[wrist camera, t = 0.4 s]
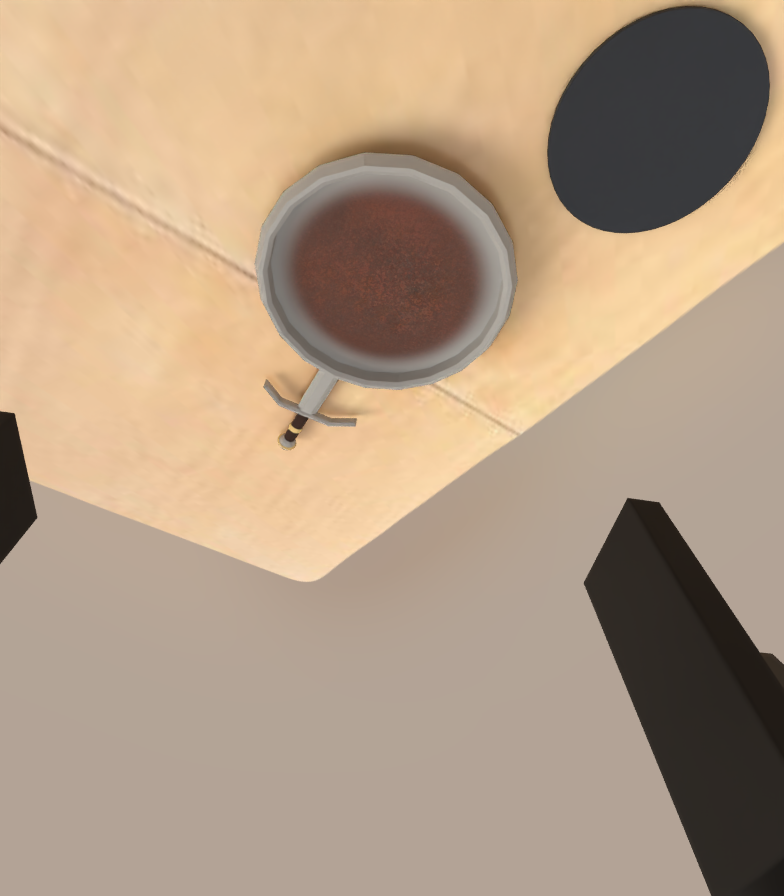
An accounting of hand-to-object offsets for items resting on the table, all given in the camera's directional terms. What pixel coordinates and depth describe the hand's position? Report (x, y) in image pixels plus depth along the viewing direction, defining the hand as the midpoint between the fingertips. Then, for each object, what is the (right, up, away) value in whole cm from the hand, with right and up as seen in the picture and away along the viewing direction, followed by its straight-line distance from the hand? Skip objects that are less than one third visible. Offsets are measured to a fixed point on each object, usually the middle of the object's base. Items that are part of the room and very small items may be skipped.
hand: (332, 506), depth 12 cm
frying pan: (-2, +10, +29) cm, 31 cm away
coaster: (+15, +18, +18) cm, 30 cm away
